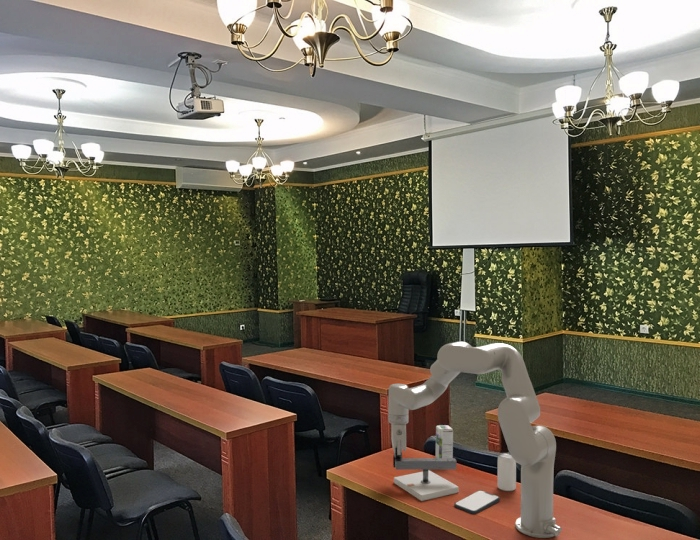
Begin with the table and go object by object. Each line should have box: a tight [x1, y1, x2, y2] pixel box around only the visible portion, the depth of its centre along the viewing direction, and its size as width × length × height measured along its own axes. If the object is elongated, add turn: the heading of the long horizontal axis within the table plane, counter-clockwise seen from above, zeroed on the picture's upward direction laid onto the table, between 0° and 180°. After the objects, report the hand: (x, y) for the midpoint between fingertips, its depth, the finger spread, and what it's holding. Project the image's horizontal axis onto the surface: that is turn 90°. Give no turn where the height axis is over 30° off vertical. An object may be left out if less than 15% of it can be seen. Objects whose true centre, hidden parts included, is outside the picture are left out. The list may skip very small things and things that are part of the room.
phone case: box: [454, 490, 501, 515], centre depth 193 cm, size 9×2×16 cm
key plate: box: [393, 469, 460, 502], centre depth 206 cm, size 18×16×2 cm
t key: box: [395, 457, 458, 483], centre depth 206 cm, size 22×3×8 cm, turn 91°
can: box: [497, 452, 517, 492], centre depth 206 cm, size 6×6×12 cm
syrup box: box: [435, 424, 454, 458], centre depth 233 cm, size 6×6×14 cm
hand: (397, 466), depth 210 cm, fingers closed
